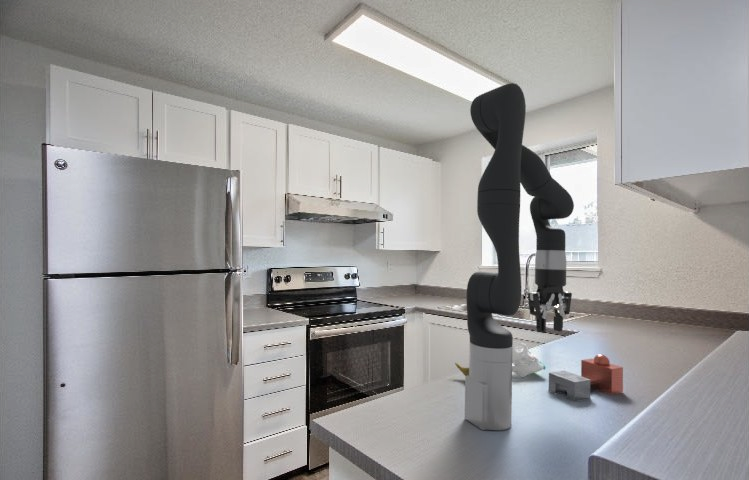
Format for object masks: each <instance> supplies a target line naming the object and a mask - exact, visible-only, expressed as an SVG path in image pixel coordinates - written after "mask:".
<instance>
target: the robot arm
mask: <svg viewBox="0 0 749 480" xmlns="http://www.w3.org/2000/svg"><path fill="white" fill-rule="evenodd" d="M526 107H527V106H526V98H525V94H524V91H523V88H522V87H520V86H519V84H517V83H514V82H513V83H511V82H510V83H506V84H504V85H500V86H498V87H496V88H493V89H491V90H489V91H486V92H484V93H482V94H479V95H478V96H475V97H474V99H472V101H471V104H470V109H469V112H470V117H471V121H472V123H473V124H474V127H475V128H476V129H477V131H478V132H479V133H480V135H482V136H483V138H484V139H485V140H486V141H487V143H489V144H490V146H491V147H492V148H493V149H494V152H493V154H492V156H491V158H490V160H489V162H488V164H487V165H486V168H485V169H484V171H483V173H482V175H481V177H480V179H479V183H478V187H477V198H476V199H477V203H476V204H477V205H476V208H477V209H476V212H477V216H478V220H479V221H480V224H481V226H482V228H483V229H484V231H485V233H486V234H487V236H488V237H489V239H490V241H491V244H492V245H493V248H494V250H495V252H496V258H497V259H496V261H497V272H496V271H495V272H494V271H476V272H474V273H472V274H471V276H470V277H469V279H468V281H467V285H466V318H467V321H466V323H467V330H468V331H467V332H468V334H469V359H468V361H469V363H468V368H469V376H464V377H465V378H464V379H465V380H464V382H465V383H464V385H465V386H464V419H465V420H466V421H468V422H470V423H471V424H473V425H474V426H476V427H477V428H479V429H480V430H481V431H482V430H483V431H484V430H489V431H503V430H504V431H505V430H508V429H510V428H511V427H512V417H513V416H512V415H513V413H512V412H513V411H512V410H513V408H512V406H513V404H512V403H513V402H512V401H513V397H512V396H513V371H512V370H513V369H512V366H513V363H512V349H513V348H514V347H513V346H514V345H513V344H514V343H513V341H514V339H513V338H514V337H513V333H512V332H511V331H510V330H508V328H506V327H504V326H502V325H500V324H499V323H498V322H497V321H496V320H495V318H494V317H493V315H501V316H507V317H509V316H510V317H511V316H514V315H515V314H516V313H517V312H519V308H520V306H521V301H522V275H521V271H522V270H521V260H520V259H521V258H520V213H521V185H522V188H523V189H524V191H525V192H526V194H528V195H529V196H530V197H533V198H532V199H531V201H530V204H529V212H530V213H529V214H530V217H531V220H532V223H533V226H534V227H533V228H534V231H535V235H536V240H535V241H536V243H535V244H536V251H535V259H534V264H535V265H534V283H535V285H537V288H536V291H535V292H530V291H528V293H527V299H528V307H529V314H530V315H531V316H534V317H535V318H536V321H535V323H536V324H535V326H536V332H538V333H541V334H544V333H546V332H547V331H546V330H547V318H546V317H547V314H548V311H550V310H551V309H552V312H553V315H554V316H553V330H554V331H556V332H563V329H564V317H565V316H566V315H570V310H571V303H572V297H573V296H572V295H573V294H572V292H571V291H570V292H568V291H564V287H566V285H567V253H566V232H565V230H564V229H561V228H559V227H558V228H557V227H552V226H551V224H550V222H549V220H563V219H566V218H569V217H570V216H571V215H572V213H573V211H574V207H575V204H574V200H573V197H572V196H571V194H570V193H569V192H568V190H567V189H565V188H564V187H563V186H562V185H561V184H560V183H559V182H558V180H555V179H554V178H553V176H552V175H551V173H550V171H549V169H548V168H547V166H546V164H545V162H544V160H543V159H542V158H541V156H539V155H538V153H536V152H535V151H533V150H531V149H530V148H528V147H527V146H526V145H524V144H523V141H524V140H523V139H524V130H525V124H526V123H525V122H526V121H525V120H526V113H527V112H526Z"/></svg>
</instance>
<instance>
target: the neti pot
mask: <svg viewBox="0 0 749 480" xmlns="http://www.w3.org/2000/svg"><path fill="white" fill-rule="evenodd" d="M454 364H455V365H456V367H457V369H459V371H460V372H461V373H462V374H463V376H464V377H466V376H469V367H465V366H462V365H461V364H459V363H457V362H454Z"/></svg>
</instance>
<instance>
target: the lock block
mask: <svg viewBox="0 0 749 480" xmlns="http://www.w3.org/2000/svg"><path fill="white" fill-rule="evenodd" d="M550 391H551V393H553V394H555V393H556V394H561V393H560V392H562V393H566V398H567V400H570V401H572V402H581V401H584V400H585V401H586V400H590V399H591V392H590V379H587V378H584V377H581V375H579V374H575V373H572V372H570V371H567V370H558V371H552V372H551V371H550V372H548V392H550ZM565 391H567V392H565Z"/></svg>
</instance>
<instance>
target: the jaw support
mask: <svg viewBox="0 0 749 480" xmlns="http://www.w3.org/2000/svg"><path fill="white" fill-rule="evenodd" d="M546 368H547V367H546V366H545V365H544V363H543V362H541V361H540V360H539V358H538V356H537V355H536V354H533V353H532V352H531V351H530V350H529V348H528V346H527V344H526V343H522V342H520V343H519V344H518V345H515V347H513V349H512V372H515V373H517V374H518V375H519V376H520V377H521V376H522V377H521V378H525V377H527V376H529V375H530V374H531V375H532V374H534V373H538V372H540V371H542V370H544V371H545V370H546Z"/></svg>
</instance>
